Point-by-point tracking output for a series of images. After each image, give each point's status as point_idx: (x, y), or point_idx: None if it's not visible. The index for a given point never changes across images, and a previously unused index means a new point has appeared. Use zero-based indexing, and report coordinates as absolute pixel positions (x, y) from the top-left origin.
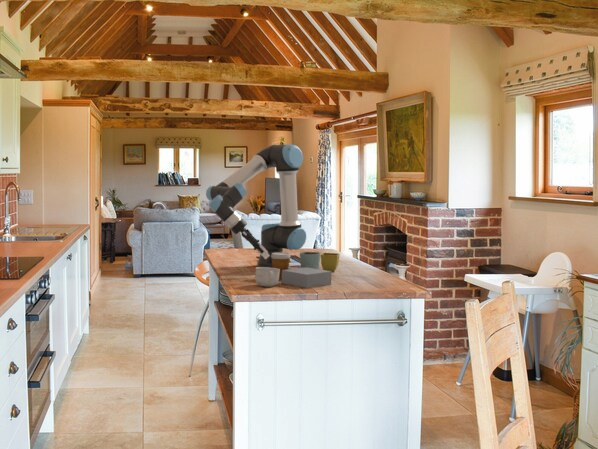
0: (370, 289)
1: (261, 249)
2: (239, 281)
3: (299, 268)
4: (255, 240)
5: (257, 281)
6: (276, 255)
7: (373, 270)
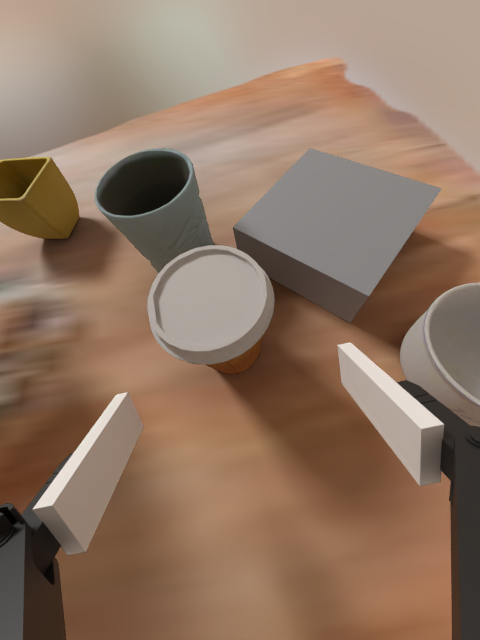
0: (344, 117)
1: (439, 404)
2: (392, 551)
3: (278, 241)
4: (33, 585)
5: None
6: (264, 313)
7: (58, 152)
